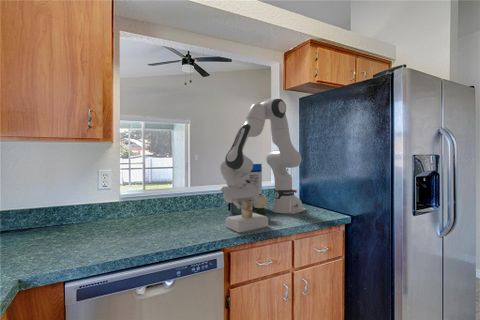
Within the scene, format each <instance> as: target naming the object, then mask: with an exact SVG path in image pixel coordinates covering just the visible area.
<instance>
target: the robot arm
mask: <svg viewBox="0 0 480 320" xmlns="http://www.w3.org/2000/svg"><path fill="white" fill-rule="evenodd" d="M286 112H287V104H286V103H285V101H284V100H283V99H282V98H275V99H274V98H273V99H268V100H264V101H261V102H257V103H253V104H252V105H251V106H250V108H249V110H248V112H247V114H246V117H245V120H244V123H243V124H242V125H241V126H240V127H239V129H238V131H237V134H236V135H235V138H234V140H233V142H232V145H231V147H230V149H229V150H228V152H227V153H226V156H225V159H224V160H223V161H222V162H221V164H220V165H219V167H220V173H221V175H222V178H223V180H225V183H226V186H222V187H221V188H220V191H221V193H222V196H223V199H224V202H225V203H226V204H228V203H232V202H233V204H234V205H236V206H237V208H238V209H239V208H241V207H242V206H241V204H239V203H238V202H239V201H246V200H251V201H253V203H252V205H253V206H256V202H255V199H257V198H258V197H259V192H258V190H257V189H256V187H255V186H254V185H252V181H251V180H246V179H243V178H241V177H243V176H245V175H247V174H248V173H250V172H251V171H252V169H253V164H254V162H253V160H252V159H250V158H249V156H247V155H245V154H244V151H243V150H244V148H245V146H246V143H247V141H248V139H249V137H252V138H255V137H258V136H260V135H261V134H262V132H263V130H264V127H265V123H266V120H269V121H270V132H271V133H270V134H271V140H272V143H273V144H274V145H276V147H277V150H272V151H270V152H268V153H267V155H266V163H267V165H269V167H270V168H271V170H272V174H273V178H274V188H273V196H274V198H273V207H272V210H271V211H272V212H273V213H277V214H290V215H291V214H293V215H294V214H298V213H301V212H305V211H306V210H307V208H305V207H304V206H303V203H302V200H301V199H300V198H299V197H297V195H295V194H296V193H297V192H298V190H297V189H293V177H292V175H291V174H290V173H289V172H288V169H289V168H290V169H292V168H297V167H299V166H300V165H301V163H302V155H301V153H300V152H299V151H298V150H297V149H296V148H295V146H294V145H293V143H292V140H291V136H290V135H291V134H290V129H289V122H288V121H289V120H288V118H287V114H286Z"/></svg>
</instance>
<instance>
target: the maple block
mask: <svg viewBox="0 0 480 320" xmlns="http://www.w3.org/2000/svg"><path fill="white" fill-rule="evenodd" d="M241 206H242V207H241V213H242V217H244V218H250V217H252V213H253V209H252V201H248V200H246V201H241Z"/></svg>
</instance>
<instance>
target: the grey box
mask: <svg viewBox="0 0 480 320" xmlns="http://www.w3.org/2000/svg"><path fill="white" fill-rule="evenodd" d="M266 227H269V217H268V216H263V215H260V214H256V213H255V212H252V217H250V218H244V217H242V215H237V216H226V218H225V228H227V229H229V230H232V231H235V232H237V233H243V232H248V231H253V230H258V229H263V228H266Z"/></svg>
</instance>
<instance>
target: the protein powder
mask: <svg viewBox="0 0 480 320" xmlns="http://www.w3.org/2000/svg"><path fill="white" fill-rule="evenodd" d="M262 166H263V165H262V163H253V169H252V171H251V172H250V173H248V174H247V175H245V176H243V177H241V178H243V179H246V180H251V181H252V185H254V186H255V187H256V189H257V190H258V192H259V195H263V192H262V190H263V188H262V187H263V184H262V183H263V180H262V179H263V172H262V171H263V170H262V169H263V167H262ZM248 201H251V200H248ZM240 202H241V201H240ZM227 204H228V205H227V206H228V211H230V203H227ZM252 210H256V207H254V206H252Z"/></svg>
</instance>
